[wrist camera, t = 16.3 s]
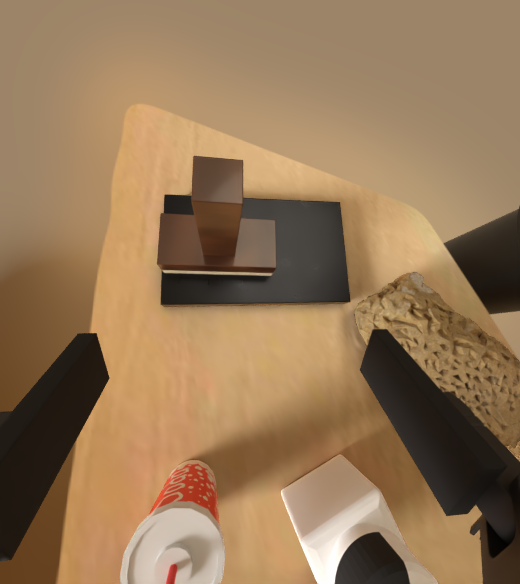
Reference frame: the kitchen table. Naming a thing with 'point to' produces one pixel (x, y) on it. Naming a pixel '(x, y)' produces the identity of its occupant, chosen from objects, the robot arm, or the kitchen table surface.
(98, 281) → the kitchen table surface
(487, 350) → the sponge
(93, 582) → the kitchen table surface
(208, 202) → the brown block
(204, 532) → the beverage cup
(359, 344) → the kitchen table surface
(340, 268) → the panel
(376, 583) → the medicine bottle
